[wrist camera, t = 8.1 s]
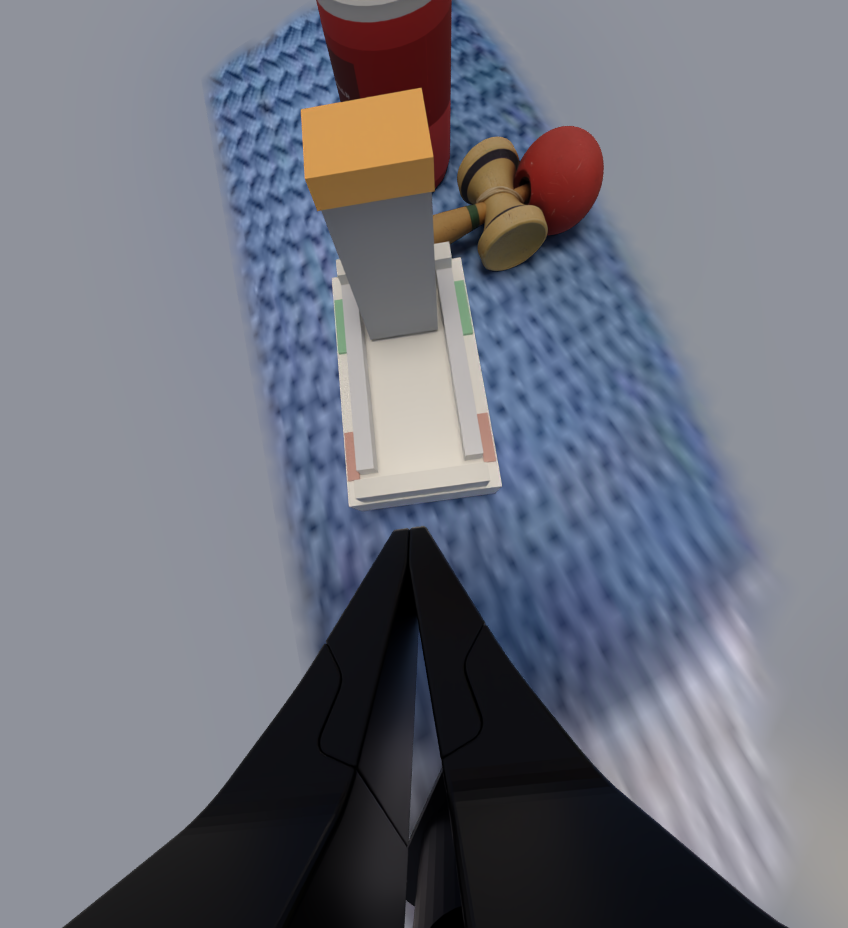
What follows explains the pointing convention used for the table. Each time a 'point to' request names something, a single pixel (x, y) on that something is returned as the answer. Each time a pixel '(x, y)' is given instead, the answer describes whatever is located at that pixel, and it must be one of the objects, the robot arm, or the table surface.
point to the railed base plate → (414, 402)
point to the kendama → (523, 194)
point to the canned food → (394, 56)
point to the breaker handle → (378, 204)
